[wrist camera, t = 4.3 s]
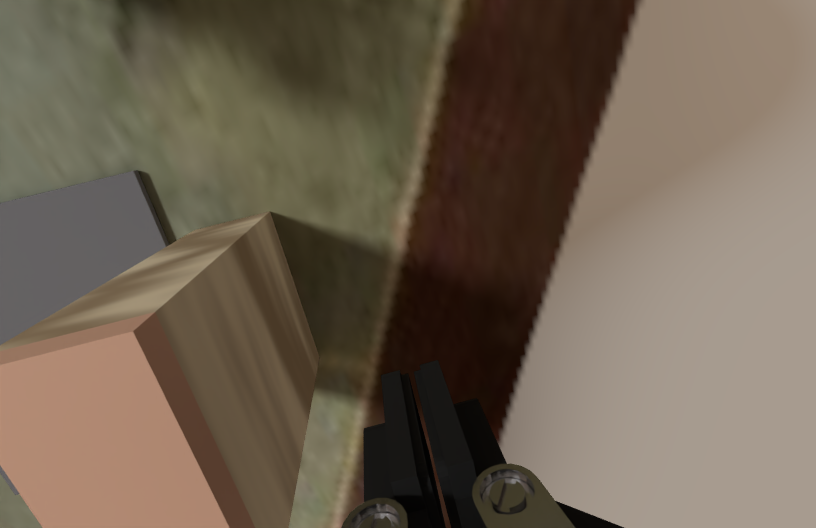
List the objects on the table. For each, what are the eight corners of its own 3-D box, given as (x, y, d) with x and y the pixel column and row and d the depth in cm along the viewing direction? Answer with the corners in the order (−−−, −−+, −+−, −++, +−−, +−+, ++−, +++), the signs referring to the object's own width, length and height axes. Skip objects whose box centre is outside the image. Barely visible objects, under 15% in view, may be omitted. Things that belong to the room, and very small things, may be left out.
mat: (137, 170, 21) (133, 171, 20) (248, 429, 26) (246, 434, 25) (-149, 239, 20) (-159, 241, 20) (20, 489, 25) (15, 495, 25)
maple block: (269, 211, 22) (133, 331, 9) (319, 357, 25) (272, 615, 12) (194, 230, 22) (-59, 379, 9) (253, 375, 25) (129, 654, 12)
